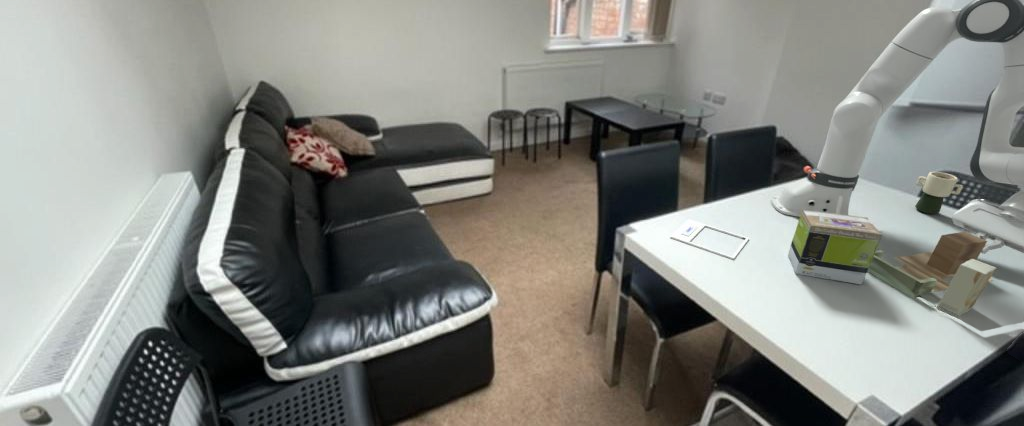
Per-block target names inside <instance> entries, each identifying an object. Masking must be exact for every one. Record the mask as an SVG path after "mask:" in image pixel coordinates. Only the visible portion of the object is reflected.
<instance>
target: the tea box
mask: <svg viewBox="0 0 1024 426" xmlns="http://www.w3.org/2000/svg"><path fill="white" fill-rule="evenodd" d="M795 228H796V229H795V232H794V234H793V238H792V241H791V243H790V247H789V250H788V253H787V256H788V259H789V261H790V264H791V266H792V268H793V272H794V273H795V274H796V275H801V276H808V277H815V278H821V279H825V280H832V281H839V282H845V283H851V284H855V285H862V284H863V283H864V280H865V277H866V276H867V273H868V268H869V266H870V264H871V261H872V259H873V256H874V254H875V251H877V249H878V247H879V244H880V241H881V240H882V237H883V234H882V233H881V231H879V230H878V228H876V226H875V225H874V224H873V223H872V222H871V221H870V219H869V217H865V216H858V215H857V216H856V215H849V214H848V215H841V214H834V213H825V212H817V211H808V210H802V212H801V215H800V217H799V219H798V222H797V226H796V227H795Z"/></svg>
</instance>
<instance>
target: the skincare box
mask: <svg viewBox="0 0 1024 426" xmlns="http://www.w3.org/2000/svg"><path fill="white" fill-rule="evenodd" d="M996 269H997V267H995V266H993V265H990V264H988V263H986V262H982V261H979V260H978V259H977V260H975V259H970V260H968V261H966V262H965V263H963V264H961V265H960V267H959V268H958V270H957V272H956V274H955V275H954V276H952V279H951V280H950V282H949V283H950V284H949V286H948V288H947V289H945V290H944V294H943V295H942V297H941V298H940V300H939V302H938V304H937V306H936V309H937V310H939V311H941V312H943V313H945V314H948V315H950V316H953V317H955V318H957V319H959V317H958V316H960V317H961V316H963V315H964V314H966V313H967V312H969V311H970V310H971V309H972V308H973V307H974V306H975V304H976V302H977V300H978V299H979V297H980V296H981V294H982V293H983V291H984V288H985V287H986V285H987V283H988V282H990V281H989V279H991V278H992V276H993V274H995V271H996ZM950 312H951V313H950ZM952 313H953V314H952ZM956 315H957V316H956Z"/></svg>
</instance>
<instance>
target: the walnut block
mask: <svg viewBox="0 0 1024 426" xmlns="http://www.w3.org/2000/svg"><path fill="white" fill-rule="evenodd" d="M976 236H977V235H973V234H971V233H969V232H967V231H961V232H954V233H948V234H942V235H941V236H940V238H939V240H938V242H937V244H936V246H935V248H934V249H933V251H932V252H933V253H932V255H931V257H930V259H929V261H928V263H927V265H929V266H931V267H933V268H935V269H937V270H939V271H941V272H943V273H945V274H947V275H949V274H955V273H956V272H957V270H958V268H959V267H960V265H961V264H963V263H965V262H966V261H968V260H970V259H975V260H978V258H979V256H980V254H982V253H981V251H982V249H983V248H984V246H985V245H987V242H988V240H987V239H986V240H983V239H981V238H979V237H976Z"/></svg>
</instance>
